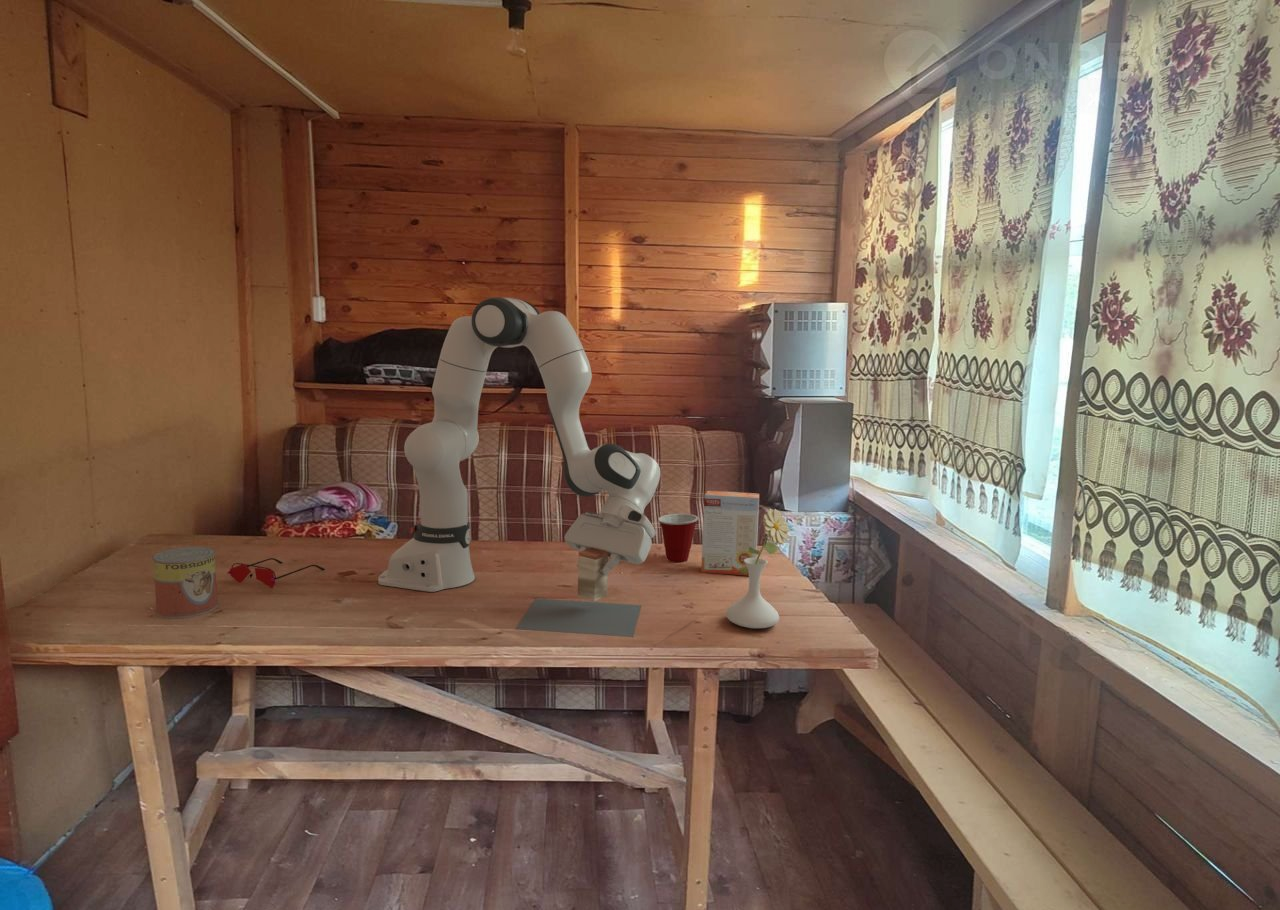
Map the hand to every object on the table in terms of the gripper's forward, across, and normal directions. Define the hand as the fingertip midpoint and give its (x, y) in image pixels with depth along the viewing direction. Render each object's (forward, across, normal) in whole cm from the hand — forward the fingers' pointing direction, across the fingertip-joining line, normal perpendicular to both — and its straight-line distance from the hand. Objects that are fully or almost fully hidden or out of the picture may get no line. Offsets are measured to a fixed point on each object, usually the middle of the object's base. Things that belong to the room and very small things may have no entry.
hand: (591, 570), depth 162 cm
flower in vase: (-6, +31, +20) cm, 37 cm away
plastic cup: (-26, -6, +40) cm, 49 cm away
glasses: (+26, -75, -10) cm, 80 cm away
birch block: (+4, 0, +5) cm, 6 cm away
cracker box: (-26, +10, +40) cm, 49 cm away
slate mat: (+10, 0, +4) cm, 11 cm away
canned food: (+43, -69, -27) cm, 86 cm away
